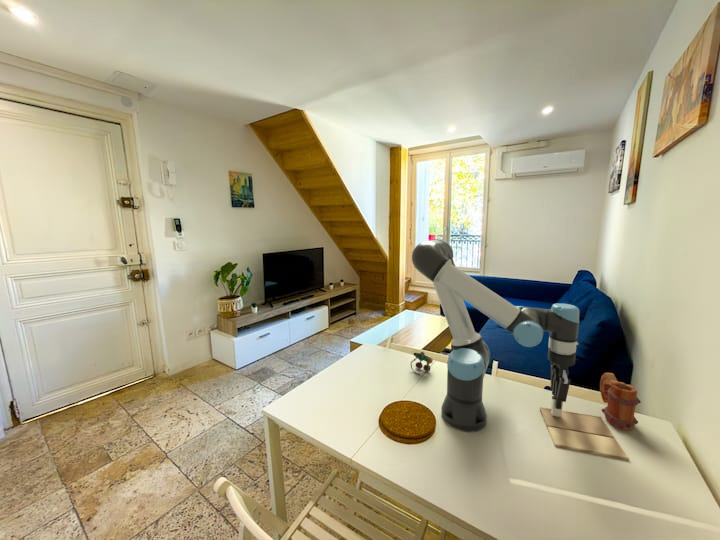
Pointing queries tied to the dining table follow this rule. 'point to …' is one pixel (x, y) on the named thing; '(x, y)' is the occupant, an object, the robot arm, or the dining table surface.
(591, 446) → the laid board
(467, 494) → the dining table surface
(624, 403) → the mug
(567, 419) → the plank
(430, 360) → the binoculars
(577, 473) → the dining table surface
